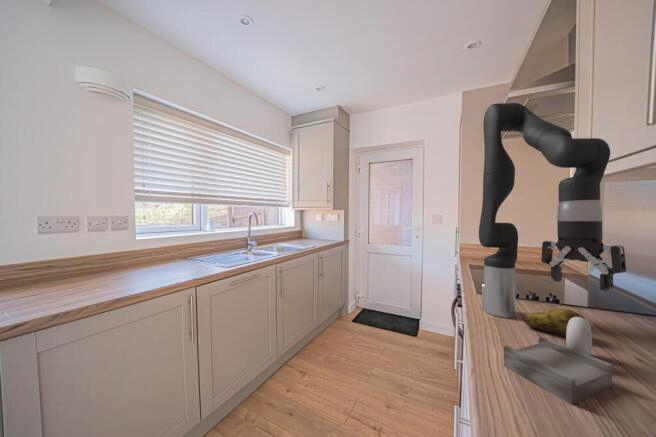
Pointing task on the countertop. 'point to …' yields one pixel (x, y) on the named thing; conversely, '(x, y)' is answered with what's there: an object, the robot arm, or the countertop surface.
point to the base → (560, 369)
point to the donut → (579, 335)
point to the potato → (551, 320)
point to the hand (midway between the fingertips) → (579, 285)
